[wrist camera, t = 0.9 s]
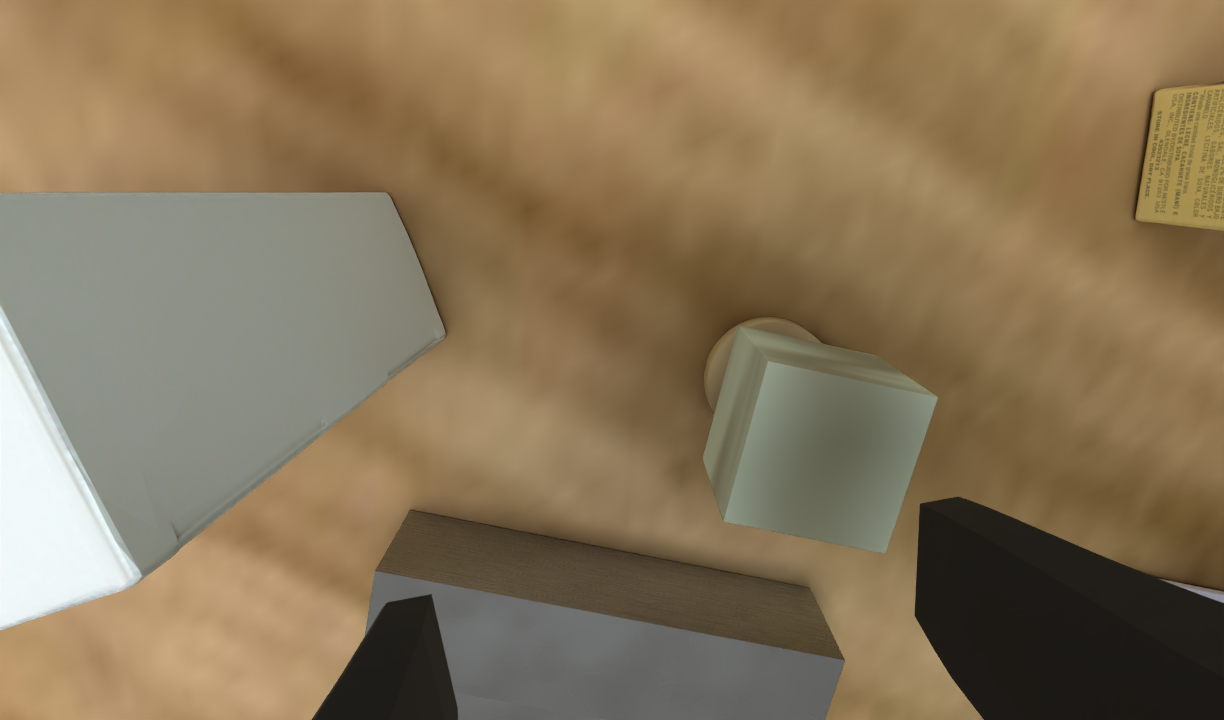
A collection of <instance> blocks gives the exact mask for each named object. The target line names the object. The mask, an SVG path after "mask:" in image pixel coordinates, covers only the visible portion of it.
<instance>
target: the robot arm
mask: <svg viewBox="0 0 1224 720" xmlns="http://www.w3.org/2000/svg"><path fill="white" fill-rule="evenodd" d="M915 617H916V619H917V621H918V622H919V624H920V626H921V628H922V629H923V631H924V633H925V634H926V636H927V638H928V640H929V641H930V643H931V645H932V647H933V648H934V650H935V652H936V653H937V655H938V657H939V658H940V660H941V661H942V663H943V665H944V666H945V668H946V669H947V671H948V673H949V674H950V676H951V677H952V679H953V680H954V681H955V683H956V684H957V685H958V687H959V688H960V689H961V691H962V692H963V693H964V694H965V696H966V697H967V698H968V700H969V701H970V702H971V704H972V705H973V706H974V707H975V709H976V710H977V711H978V713H979V714H980V715H981V716H982V718H983V719H984V720H1224V592H1222V591H1217V590H1212V589H1207V588H1202V587H1197V586H1192V585H1187V584H1182V583H1177V582H1173V581H1168V580H1163V579H1158V578H1155V577H1152V576H1150V575H1147V574H1145V573H1142V572H1140V571H1137V570H1135V569H1132V568H1130V567H1127V566H1125V565H1122V564H1120V563H1117V562H1115V561H1113V560H1110V559H1108V558H1105V557H1103V556H1101V555H1098V554H1096V553H1093V552H1091V551H1089V550H1086V549H1084V548H1082V547H1079V546H1077V545H1075V544H1072V543H1070V542H1068V541H1065V540H1063V539H1061V538H1058V537H1056V536H1054V535H1051V534H1049V533H1047V532H1044V531H1042V530H1040V529H1038V528H1035V527H1033V526H1031V525H1028V524H1026V523H1024V522H1021V521H1019V520H1017V519H1014V518H1012V517H1010V516H1007V515H1005V514H1002V513H1000V512H998V511H995V510H993V509H990V508H988V507H985V506H983V505H980V504H978V503H975V502H972V501H970V500H967V499H964V498H961V497H954V498H948V499H943V500H937V501H932V502H927V503H921V504H920V514H919V536H918V557H917V578H916V599H915ZM312 720H458V707H457V703H456V698H455V694H454V690H453V685H452V681H451V677H450V672H449V668H448V663H447V659H446V655H445V650H444V646H443V642H442V637H441V633H440V629H439V624H438V620H437V616H436V611H435V607H434V602H433V598H432V594H429V595H424V596H419V597H413V598H408V599H402V600H397V601H392V602H387V603H386V604H385V606H384V607H383V608H382V609H381V611H380V612H379V614H378V616H377V617H376V619H375V621H374V622H373V624H372V626H371V627H370V629H369V631H368V632H367V634H366V636H365V637H364V639H363V641H362V642H361V644H360V646H359V647H358V649H357V650H356V652H355V654H354V655H353V657H352V659H351V660H350V662H349V663H348V665H347V667H346V668H345V670H344V671H343V673H342V675H341V676H340V678H339V679H338V681H337V682H336V684H335V685H334V687H333V688H332V690H331V691H330V693H329V694H328V696H327V697H326V699H325V700H324V702H323V703H322V705H321V706H320V708H319V709H318V711H317V713H316V714H315V716H314V717H313V719H312Z"/></svg>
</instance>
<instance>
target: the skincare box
mask: <svg viewBox="0 0 1224 720" xmlns="http://www.w3.org/2000/svg"><path fill="white" fill-rule="evenodd" d="M444 338H445V330H444V326H443V324H442V321H441V319H440V316H439V314H438V311H437V308H436V306H435V303H434V300H433V297H432V295H431V292H430V289H429V287H428V284H427V281H426V279H425V276H424V273H423V270H422V268H421V266H420V263H419V261H418V258H417V256H416V253H415V251H414V248H413V246H412V244H411V241H410V239H409V236H408V234H407V232H406V230H405V227H404V225H403V223H402V221H401V219H400V217H399V215H398V212H397V210H396V208H395V206H394V204H393V202H392V199H391V197H390V196H389V195H388V194H387V193H384V192H335V193H241V192H47V193H0V630H3V629H6V628H9V627H12V626H15V625H18V624H21V623H24V622H27V621H30V620H33V619H36V618H39V617H42V616H45V615H48V614H51V613H54V612H57V611H61V610H64V609H67V608H70V607H73V606H76V605H79V604H82V603H85V602H88V601H92V600H95V599H98V598H101V597H104V596H107V595H110V594H114V593H117V592H120V591H123V590H125V589H128V588H131V587H133V586H135V585H136V584H137V583H138V582H140V581H141V580H142V579H144V578H145V577H146V576H148V575H149V574H150V573H152V572H153V571H154V570H156V569H157V568H158V567H160V566H161V565H162V564H163V563H165V562H166V561H167V560H169V559H170V558H171V557H173V556H174V555H175V554H176V553H177V552H178V551H179V550H180V548H182V547H183V546H184V545H185V544H187V543H188V542H189V541H190V540H192V539H193V538H194V537H195V536H197V535H198V534H199V533H201V532H202V531H203V530H204V529H206V528H207V527H208V526H209V525H211V524H212V523H213V522H215V521H216V520H217V519H218V518H220V517H221V516H222V515H223V514H225V513H226V512H227V511H228V510H230V509H231V508H232V507H233V506H235V505H236V504H237V503H238V502H240V501H241V500H242V499H243V498H245V497H246V496H247V495H248V494H249V493H251V492H252V491H253V490H254V489H256V488H257V487H258V486H259V485H261V484H262V483H263V482H264V481H266V480H267V479H268V478H269V477H271V476H272V475H273V474H274V473H276V472H277V471H278V470H279V469H281V468H282V467H283V466H284V465H286V464H287V463H288V462H289V461H290V460H292V459H293V458H294V457H295V456H297V455H298V454H299V453H300V452H302V451H303V450H304V449H305V448H306V447H308V446H309V445H310V444H311V443H313V442H314V441H315V440H316V439H317V438H319V437H320V436H321V435H322V434H324V433H325V432H326V431H327V430H329V429H330V428H331V427H332V426H334V425H335V424H336V423H337V422H339V421H340V420H341V419H342V418H344V417H345V416H346V415H348V414H349V413H350V412H352V411H353V410H354V409H356V408H357V407H358V406H359V405H360V404H362V403H363V402H364V401H365V400H366V399H368V398H369V397H370V396H371V395H373V394H374V393H375V392H376V391H378V390H379V389H380V388H382V387H383V386H384V385H385V384H386V383H387V381H389V380H390V379H392V378H393V377H394V376H396V375H397V374H398V373H400V372H401V371H402V370H404V369H405V368H406V367H408V366H409V365H410V364H412V363H413V362H414V361H416V360H417V359H418V358H420V357H421V356H422V355H424V354H425V353H426V352H428V351H429V350H430V349H432V348H433V347H435V346H436V345H437V344H438V343H440V342H441V341H442V340H443V339H444Z"/></svg>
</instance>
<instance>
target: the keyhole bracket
mask: <svg viewBox="0 0 1224 720" xmlns="http://www.w3.org/2000/svg"><path fill="white" fill-rule="evenodd" d="M429 594H432V598H433V602H434V607H435V611H436V616H437V620H438V624H439V629H440V633H441V637H442V642H443V646H444V650H445V655H446V659H447V663H448V668H449V672H450V677H451V681H452V685H453V690H454V694H455V698H456V703H457V707H458V720H825V718H826V715H827V712H828V709H829V706H830V703H831V700H832V697H833V694H834V691H835V688H836V685H837V682H838V679H839V676H840V674H841V671H842V668H843V665H844V662H845V659H844V657H843V655H842V653H841V651H840V649H839V647H838V645H837V643H836V641H835V639H834V637H833V635H832V633H831V631H830V629H829V627H828V624H827V622H826V620H825V618H824V616H823V614H822V612H821V610H820V608H819V606H818V604H817V602H816V600H815V598H814V596H813V594H812V592H811V590H810V588H807V587H802V586H797V585H792V584H786V583H781V582H776V581H771V580H766V579H761V578H756V577H751V576H745V575H740V574H735V573H730V572H725V571H720V570H715V569H710V568H704V567H699V566H694V565H689V564H684V563H679V562H674V561H669V560H664V559H658V558H653V557H648V556H643V555H638V554H633V553H628V552H623V551H617V550H612V549H607V548H602V547H597V546H592V545H587V544H582V543H577V542H571V541H566V540H561V539H556V538H551V537H546V536H541V535H536V534H530V533H525V532H520V531H515V530H510V529H505V528H500V527H495V526H489V525H484V524H479V523H474V522H469V521H464V520H459V519H454V518H449V517H443V516H438V515H433V514H428V513H423V512H418V511H413V510H410V511H409V513H408V515H407V516H406V518H405V520H404V522H403V523H402V525H401V527H400V529H399V530H398V532H397V534H396V536H395V537H394V539H393V541H392V543H391V544H390V546H389V548H388V550H387V551H386V553H385V555H384V557H383V558H382V560H381V562H380V563H379V565H378V567H377V569H376V570H375V575H374V581H373V588H372V594H371V600H370V607H369V613H368V619H367V626H366V632H365V636H366V634H367V632H368V631H369V629H370V627H371V626H372V624H373V622H374V621H375V619H376V617H377V616H378V614H379V612H380V611H381V609H382V608H383V607H384V606H385V604H386V603H387V602H392V601H397V600H402V599H408V598H413V597H419V596H424V595H429Z"/></svg>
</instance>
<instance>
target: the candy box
mask: <svg viewBox="0 0 1224 720" xmlns="http://www.w3.org/2000/svg"><path fill="white" fill-rule="evenodd" d="M1136 220H1138V221H1141V222H1154V223H1162V224H1170V225H1178V226H1187V227H1195V228H1204V229H1212V230H1220V231H1224V82H1216V83H1207V84H1199V85H1191V86H1183V87H1175V88H1166V89H1161V90H1158V91H1157V92H1155V93H1154V97H1153V105H1152V110H1151V119H1150V129H1149V135H1148V142H1147V148H1146V154H1145V160H1144V165H1143V172H1142V178H1141V184H1140V191H1139V198H1138V204H1137V210H1136Z"/></svg>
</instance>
